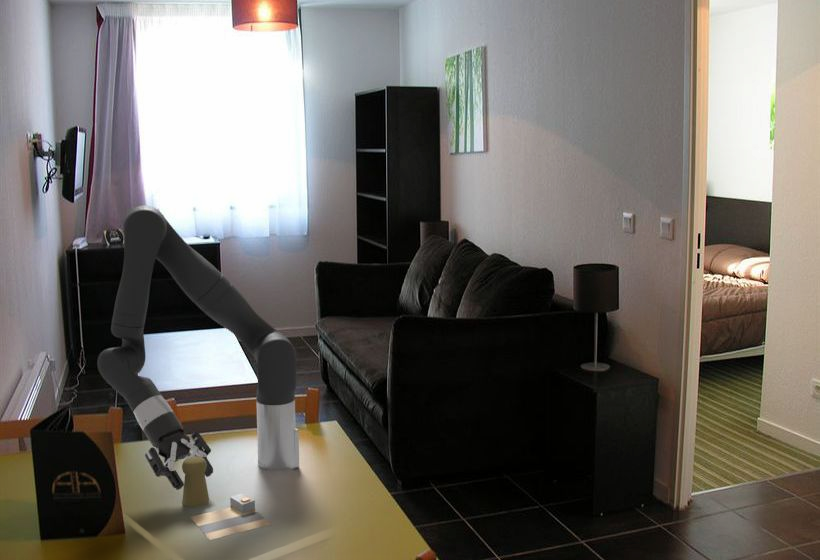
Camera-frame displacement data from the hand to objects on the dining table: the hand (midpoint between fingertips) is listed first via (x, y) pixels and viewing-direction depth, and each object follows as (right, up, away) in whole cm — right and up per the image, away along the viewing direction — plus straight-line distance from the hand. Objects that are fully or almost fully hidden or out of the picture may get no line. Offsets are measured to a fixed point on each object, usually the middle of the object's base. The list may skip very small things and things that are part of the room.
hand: (196, 481), depth 181 cm
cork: (0, -6, +1) cm, 6 cm away
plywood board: (+9, -7, -8) cm, 14 cm away
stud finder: (+11, -5, -2) cm, 12 cm away
